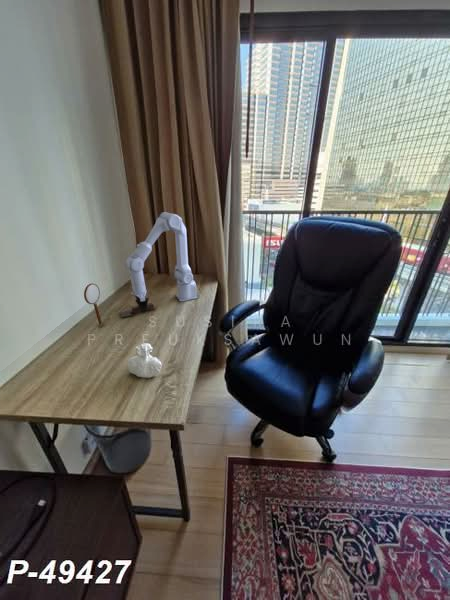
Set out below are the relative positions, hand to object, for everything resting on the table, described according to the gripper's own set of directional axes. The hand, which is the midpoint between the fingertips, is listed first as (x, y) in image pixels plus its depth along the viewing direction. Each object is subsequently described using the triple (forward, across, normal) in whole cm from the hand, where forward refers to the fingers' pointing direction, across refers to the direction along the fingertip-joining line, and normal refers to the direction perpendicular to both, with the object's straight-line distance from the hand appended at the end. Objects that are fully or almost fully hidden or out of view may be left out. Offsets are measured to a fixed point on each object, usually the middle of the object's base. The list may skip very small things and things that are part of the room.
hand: (142, 308), depth 121 cm
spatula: (+2, 0, -2) cm, 3 cm away
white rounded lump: (+2, +43, -6) cm, 43 cm away
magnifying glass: (+2, +5, -19) cm, 20 cm away
